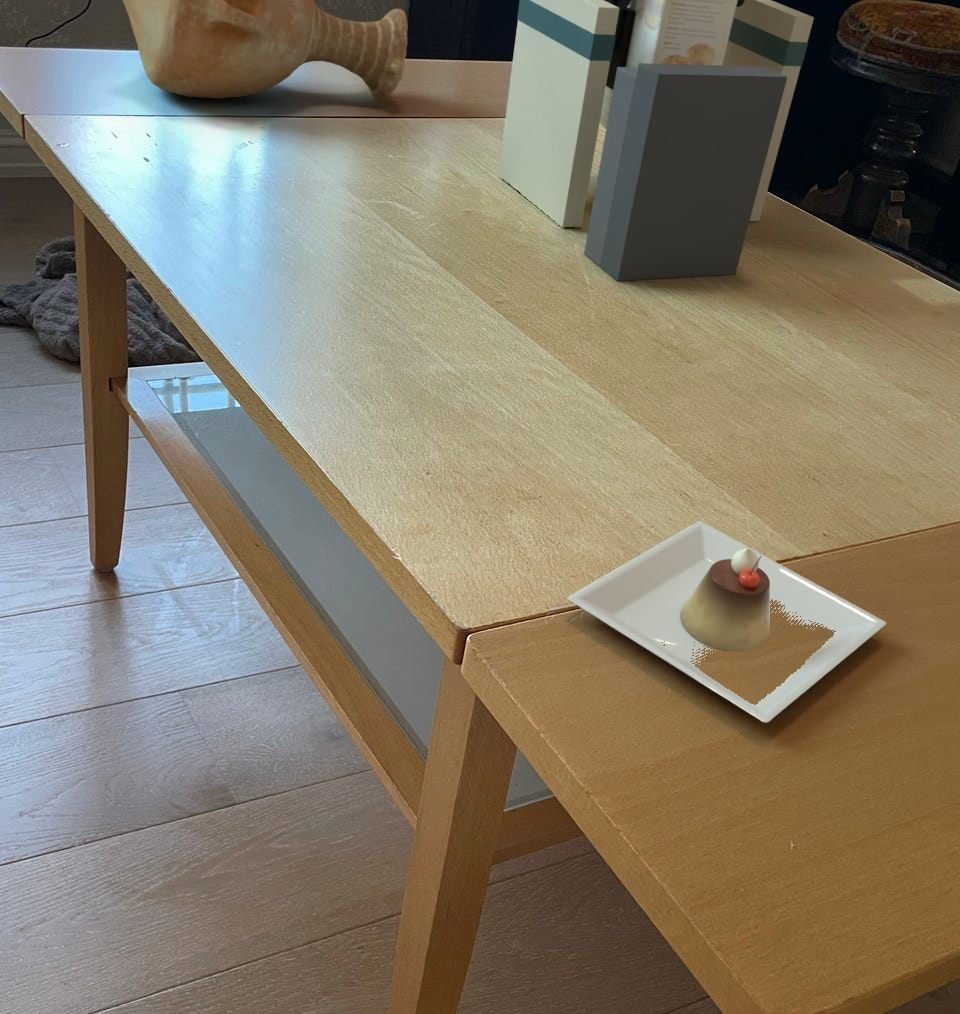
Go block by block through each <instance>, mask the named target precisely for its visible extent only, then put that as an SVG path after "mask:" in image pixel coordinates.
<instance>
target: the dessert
mask: <svg viewBox="0 0 960 1014" xmlns="http://www.w3.org/2000/svg"><path fill="white" fill-rule="evenodd" d="M772 599H773V602H774V601H775V600H777V602H779V601H780V603H778V605H779V604H781V606H782V605H785V606H783V607H782V609H781V611H782V610H783V609H784V607H785V609H784V610H783V611H782V612H783V613H784V612H785V611H786V614H787V613H788V612H789V611H790V612H789V614H788V615H787V617H788V616H789V615H790V617H789V618H788V619H787V621H788V620H789V619H790V618H791V617H792V616H793V615H794V617H792V618H791V621H792V620H793V619H794V618H795V617H796V616H798V617H796V618H795V619H794V620H795V621H796V620H797V619H798V622H799V621H800V620H801V619H802V621H801V622H800V623H799V625H800V624H801V623H802V622H803V621H804V620H805V621H804V622H803V623H802V626H803V625H804V624H805V623H806V625H808V624H809V626H810V625H811V624H812V623H814V622H816V623H814V624H813V626H814V625H815V624H817V623H819V624H818V625H821V624H823V625H821V626H820V627H822V626H824V627H823V628H825V627H827V629H830V630H834V631H836V632H834V635H833V637H831V638H830V639H828V641H826V642H825V644H824V645H822V647H821V648H820V649H818V650H817V651H816V652H815V653H813V654H812V656H810V657H809V659H807V660H806V661H805V664H804V665H802V666H801V668H800V669H797V671H796V672H794V673H793V674H791V675H790V676H789V677H788V678H787V679H786V680H785V682H784V683H782V684H781V686H778V687H776V689H775V690H774V691H773V692H771V694H767V696H766V697H765V698H764V699H761V701H759V702H758V704H756V705H754V704H751V703H749V702H748V701H746V700H744V699H743V698H741V697H740V696H738V695H737V694H735V693H734V692H732V691H731V690H729V689H727V688H725V687H724V686H723V685H721V684H720V683H718V682H717V681H715V680H714V679H712V678H711V677H709V676H708V675H706V674H705V673H703V672H702V671H700V669H699V668H697V667H695V664H697V663H695V664H692V663H694V662H696V661H698V660H694V659H696V658H698V657H700V656H702V655H704V654H701V653H702V652H704V651H701V650H703V649H704V648H706V647H708V646H710V647H709V648H706V649H705V651H706V650H708V649H710V648H711V647H713V649H715V648H716V649H719V650H723V651H735V652H737V651H740V652H742V651H743V650H744V651H746V650H750V649H755V648H757V647H759V646H761V645H762V644H764V643H765V642H766V641H767V640H768V638H769V636H770V605H771V604H772V603H771V604H770V601H771V600H772ZM567 600H568V601H569V602H570V603H572V604H574V605H575V606H577V607H579V608H580V609H581V610H584V612H586V613H588V614H589V615H592V616H593V617H595V618H596V619H598V620H599V621H601V622H603V623H604V624H605V625H607V626H608V627H610V628H612V629H614V630H615V631H617V632H618V633H620V634H622V635H623V636H624V637H626V638H628V639H630V640H631V641H632V642H634V643H636V644H638V645H639V646H641V647H642V648H644V649H646V650H647V651H649V652H650V653H652V654H654V655H655V656H656V657H659V658H660V659H662V660H663V661H665V662H667V663H668V664H669V665H670V666H673V668H675V669H678V670H679V671H680V672H682V673H684V674H685V675H687V676H688V677H690V678H692V679H693V680H695V681H697V682H698V683H700V684H702V686H704V687H706V688H707V689H709V690H710V691H713V692H714V693H715V694H717V695H719V696H721V697H722V698H723V699H725V700H727V701H729V702H730V703H731V704H733V705H734V706H736V707H738V708H739V709H741V710H742V711H744V712H746V713H748V714H749V715H750V716H752V717H753V718H755V719H757V720H759V721H760V722H762V723H765V724H767V723H769V722H770V721H772V719H774V718H775V717H776V716H777V715H778V714H780V713H781V712H782V711H783V710H784V709H786V708H788V707H789V705H791V704H792V703H793V702H794V701H795V700H797V699H798V698H799V697H800V696H801V695H803V694H804V693H806V692H807V690H809V689H810V688H811V687H812V686H814V685H815V684H816V683H817V682H818V681H820V680H821V679H822V678H823V677H824V676H825V675H826V674H828V673H829V672H831V671H832V670H833V669H834V668H835V667H836V666H837V665H839V664H840V663H841V662H843V661H844V660H845V659H846V658H847V657H849V656H850V655H851V654H852V653H853V652H855V651H856V650H857V649H858V648H859V647H861V646H862V645H863V644H864V643H866V642H867V641H868V640H869V639H870V638H871V637H873V636H874V635H875V634H876V633H878V632H879V631H880V630H881V629H883V628H884V627H885V626H886V625H887V622H886V621H885V620H884V619H881V618H879V617H877V616H876V615H874V614H872V613H871V612H869V611H867V610H865V609H863V608H861V607H859V606H857V605H856V604H854V603H852V602H850V601H849V600H846V599H845V598H843V597H841V596H839V595H837V594H835V593H833V592H831V591H830V590H828V589H826V588H824V587H822V586H821V585H819V584H817V583H815V582H813V581H812V580H810V579H808V578H806V577H804V576H802V575H800V574H799V573H797V572H795V571H793V570H792V569H790V568H788V567H786V566H784V565H783V564H780V563H778V562H777V561H774V560H773V559H772V558H770V557H768V556H766V555H764V554H763V553H760V552H759V551H756V550H755V549H753V548H751V547H750V546H747V545H746V544H744V543H742V542H740V541H739V540H737V539H735V538H733V537H731V536H729V535H727V534H725V533H724V532H722V531H720V530H719V529H717V528H714V527H713V526H711V525H708V524H707V523H705V522H704V521H703V520H697V521H695V522H694V523H692V524H690V525H689V526H687V527H685V528H683V529H682V530H680V531H677V532H676V533H675V534H673V535H671V536H670V537H668V538H666V539H665V540H663V541H661V542H660V543H658V544H655V545H654V546H652V547H651V548H649V549H647V550H646V551H644V552H642V553H641V554H639V555H637V556H635V557H634V558H632V559H630V560H628V561H626V562H625V563H623V564H621V565H619V566H617V567H616V568H615V569H613V570H611V571H610V572H608V573H606V574H604V575H603V576H601V577H599V578H597V579H596V580H594V581H592V582H591V583H589V584H587V585H586V586H584V587H582V588H580V589H578V590H577V591H575V592H573V593H572V594H570V595H568V596H567ZM777 602H776V603H777ZM776 603H775V604H776ZM775 604H774V605H775ZM781 606H780V607H781ZM780 607H779V608H778V610H779V609H780ZM771 608H772V607H771ZM774 609H776V607H775V608H774ZM773 611H774V610H773ZM773 611H772V612H773ZM781 611H780V612H781ZM772 612H771V613H772ZM776 612H777V611H776ZM776 612H775V613H776ZM780 612H779V613H780ZM792 612H793V613H792ZM796 612H797V613H796ZM795 613H796V614H795ZM786 614H785V615H786ZM785 615H784V616H785ZM784 616H783V617H784ZM800 616H801V617H800ZM808 620H809V621H808ZM791 621H790V622H791ZM810 621H812V622H810ZM790 622H789V623H790ZM798 622H797V623H798ZM793 623H794V622H793ZM793 623H791V625H792V624H793ZM797 623H796V624H797ZM796 624H795V625H796ZM818 625H816V627H817V626H818ZM807 628H808V627H807ZM807 628H806V629H807ZM811 628H812V627H811ZM811 628H810V629H811ZM814 629H815V628H814ZM814 629H813V630H814ZM832 632H833V631H832ZM664 641H665V642H664ZM662 642H663V643H662ZM694 642H695V643H694ZM703 643H704V644H703ZM664 644H665V646H663V645H664ZM694 645H695V646H694ZM703 646H705V647H703ZM699 648H700V650H698V649H699ZM692 649H694V650H692ZM713 649H710V651H711V650H713ZM696 650H697V651H696ZM699 651H700V653H697V652H699ZM715 651H716V650H715ZM692 652H694V653H692ZM708 652H709V651H708ZM708 652H705V654H706V653H708ZM695 653H697V654H695ZM712 653H713V652H712ZM693 654H694V656H692V655H693ZM710 654H711V653H710ZM697 655H699V656H698V657H695V656H697ZM706 656H707V655H706ZM704 657H705V656H704ZM704 657H703V658H704ZM691 658H693V659H691ZM700 659H702V658H699V660H700ZM692 660H694V661H693V662H690V661H692ZM704 660H705V659H704ZM699 662H701V661H698V663H699ZM699 665H700V664H699Z"/></svg>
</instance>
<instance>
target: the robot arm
mask: <svg viewBox="0 0 960 1014" xmlns="http://www.w3.org/2000/svg"><path fill="white" fill-rule="evenodd" d="M604 1H606V2H608V3H610V4H612V5H614V6H616V7H618V8H619V14H618V20H617V25H616V31H615V35H616V36H615V42H614V48H613V53H612V59H611V61H610V65H609V71H608V77H607V83H606V86H607V87H609V88H610V89H612V90H613V89H614V83H615V78H616V72H617V67H626V62H627V56H628V51H629V46H630V40H631V35H632V29H633V24H634V19H635V13H636V11H634V10H632V9H630V8H628V5H629V3H630V1H631V0H604ZM744 1H745V0H738V1H737V5H736V7H740V6H741V5H743V3H744Z"/></svg>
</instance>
